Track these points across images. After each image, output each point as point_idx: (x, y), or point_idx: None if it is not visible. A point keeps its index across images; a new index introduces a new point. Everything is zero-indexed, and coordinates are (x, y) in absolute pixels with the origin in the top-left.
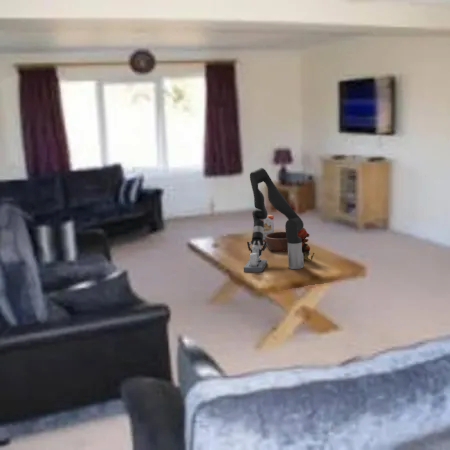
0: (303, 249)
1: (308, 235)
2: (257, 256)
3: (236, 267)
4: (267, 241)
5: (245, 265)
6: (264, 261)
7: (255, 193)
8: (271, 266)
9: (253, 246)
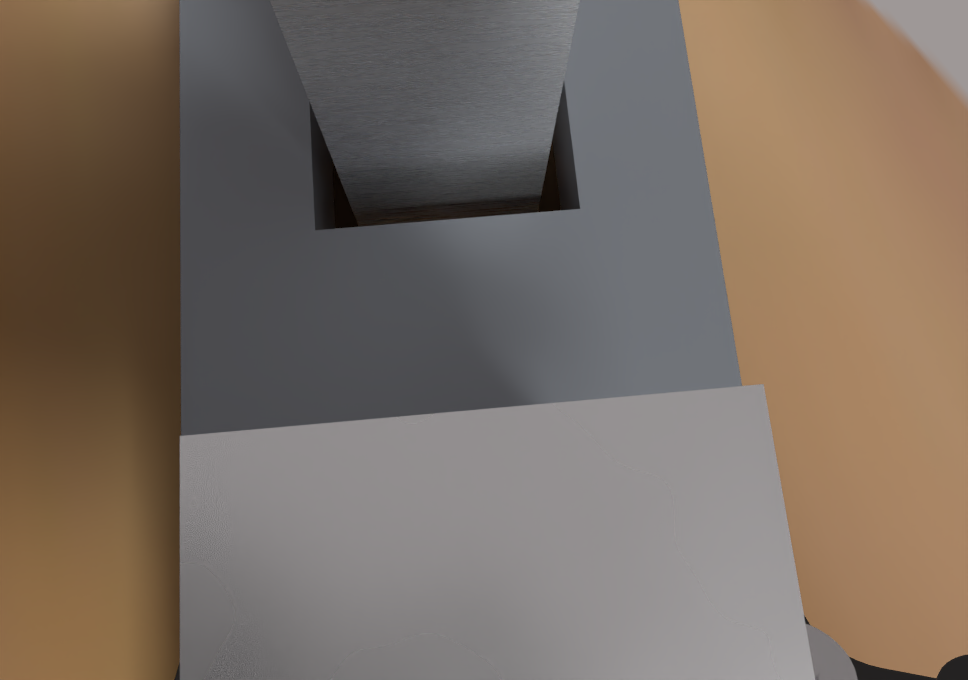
0: None
1: None
2: (292, 54)
3: (959, 313)
4: None
5: (673, 62)
6: None
7: None
8: (44, 503)
9: (633, 403)
